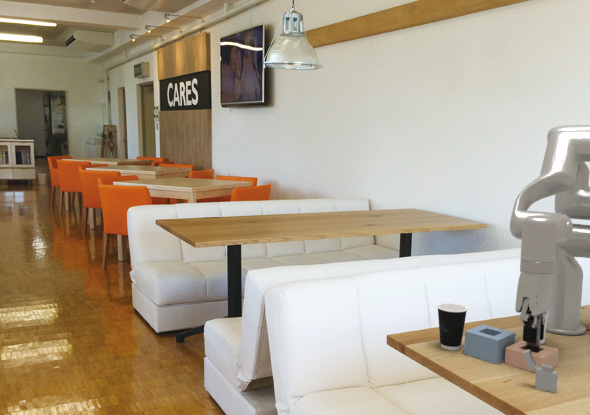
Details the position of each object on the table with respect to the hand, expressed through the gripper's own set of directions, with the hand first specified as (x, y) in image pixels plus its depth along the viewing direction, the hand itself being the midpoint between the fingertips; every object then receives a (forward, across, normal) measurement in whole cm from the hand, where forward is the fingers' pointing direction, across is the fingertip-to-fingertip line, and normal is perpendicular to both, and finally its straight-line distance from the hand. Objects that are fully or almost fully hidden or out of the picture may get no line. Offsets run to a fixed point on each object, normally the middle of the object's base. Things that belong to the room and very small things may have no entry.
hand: (533, 339), depth 132 cm
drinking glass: (+7, -16, -7) cm, 19 cm away
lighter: (+6, +13, +7) cm, 16 cm away
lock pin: (+5, 0, 0) cm, 5 cm away
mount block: (+6, +1, 0) cm, 6 cm away
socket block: (+6, +3, -10) cm, 12 cm away
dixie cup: (+6, +6, -19) cm, 21 cm away
